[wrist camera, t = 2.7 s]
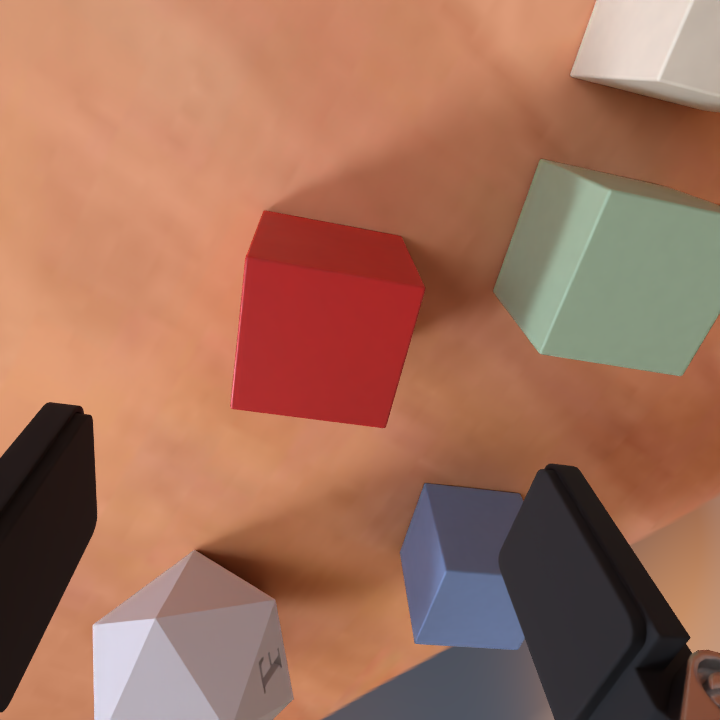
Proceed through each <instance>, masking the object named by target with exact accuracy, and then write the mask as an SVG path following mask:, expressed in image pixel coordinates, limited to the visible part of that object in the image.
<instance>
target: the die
mask: <svg viewBox="0 0 720 720" xmlns="http://www.w3.org/2000/svg"><path fill="white" fill-rule="evenodd" d="M93 664H94V720H273V719H274V718H275V717H276V716H277V715H278V714H279V713H280V712H281V711H282V710H283V709H284V708H285V707H286V706H287V705H288V704H289V703H290V702H291V701H292V700H293V699H294V698H293V692H292V687H291V682H290V676H289V671H288V665H287V660H286V654H285V649H284V644H283V638H282V633H281V627H280V622H279V616H278V611H277V605H276V600H275V599H274V598H272V597H270V596H269V595H267V594H265V593H264V592H262V591H261V590H259V589H257V588H256V587H254V586H252V585H251V584H249V583H248V582H246V581H244V580H243V579H241V578H239V577H238V576H236V575H235V574H233V573H231V572H230V571H228V570H226V569H225V568H223V567H221V566H220V565H218V564H217V563H215V562H213V561H212V560H210V559H208V558H207V557H205V556H204V555H202V554H200V553H199V552H197V551H195V550H194V551H192V552H191V553H189V554H188V555H187V556H185V557H184V558H183V559H181V560H180V561H179V562H177V563H176V564H175V565H173V566H172V567H171V568H169V569H168V570H166V571H165V572H164V573H162V574H161V575H160V576H158V577H157V578H156V579H154V580H153V581H152V582H150V583H149V584H148V585H146V586H145V587H143V588H142V589H141V590H139V591H138V592H137V593H135V594H134V595H133V596H131V597H130V598H129V599H127V600H126V601H124V602H123V603H122V604H120V605H119V606H118V607H116V608H115V609H114V610H112V611H111V612H110V613H108V614H107V615H106V616H104V617H103V618H101V619H100V620H99V621H97V622H96V623H95V624H93Z"/></svg>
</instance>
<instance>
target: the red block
mask: <svg viewBox="0 0 720 720" xmlns="http://www.w3.org/2000/svg"><path fill="white" fill-rule="evenodd" d="M424 293H425V286H424V284H423V282H422V279H421V277H420V275H419V273H418V271H417V269H416V267H415V264H414V262H413V260H412V258H411V256H410V254H409V252H408V250H407V247H406V245H405V243H404V241H403V239H402V237H401V236H398V235H392V234H387V233H382V232H376V231H371V230H366V229H361V228H355V227H350V226H345V225H339V224H334V223H329V222H324V221H318V220H313V219H308V218H302V217H297V216H292V215H286V214H281V213H276V212H271V211H263V214H262V216H261V219H260V221H259V224H258V227H257V229H256V232H255V234H254V237H253V240H252V242H251V245H250V248H249V250H248V253H247V255H246V258H245V267H244V277H243V287H242V297H241V306H240V316H239V326H238V336H237V345H236V355H235V365H234V375H233V385H232V394H231V404H230V407H231V408H232V409H237V410H245V411H253V412H260V413H268V414H276V415H284V416H292V417H300V418H308V419H316V420H324V421H332V422H339V423H347V424H355V425H363V426H371V427H379V428H385V427H386V425H387V422H388V418H389V415H390V411H391V408H392V404H393V401H394V397H395V394H396V390H397V387H398V383H399V380H400V376H401V373H402V369H403V366H404V362H405V359H406V355H407V352H408V348H409V345H410V342H411V338H412V335H413V331H414V328H415V324H416V321H417V317H418V314H419V310H420V307H421V303H422V300H423V296H424Z"/></svg>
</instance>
